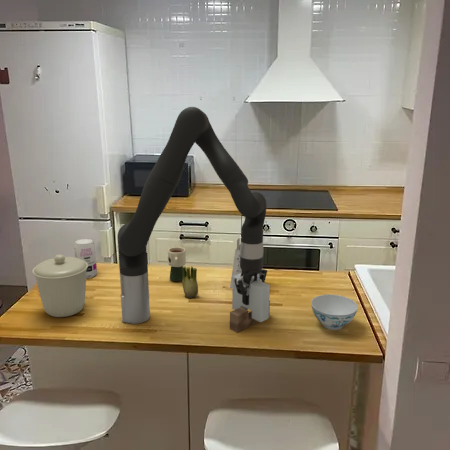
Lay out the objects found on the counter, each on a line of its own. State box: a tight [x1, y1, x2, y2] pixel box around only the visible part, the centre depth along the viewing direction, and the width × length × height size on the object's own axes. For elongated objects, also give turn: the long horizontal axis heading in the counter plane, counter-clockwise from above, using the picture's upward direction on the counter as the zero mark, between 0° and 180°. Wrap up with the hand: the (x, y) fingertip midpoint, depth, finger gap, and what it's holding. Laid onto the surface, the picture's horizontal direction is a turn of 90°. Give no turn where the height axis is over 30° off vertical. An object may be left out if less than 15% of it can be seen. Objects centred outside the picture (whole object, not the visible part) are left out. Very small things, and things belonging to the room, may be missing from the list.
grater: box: [229, 236, 262, 289], centre depth 184 cm, size 10×10×20 cm
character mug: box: [167, 246, 187, 282], centre depth 189 cm, size 11×7×13 cm, turn 3°
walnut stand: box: [229, 299, 271, 333], centre depth 157 cm, size 16×4×6 cm, turn 134°
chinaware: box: [310, 293, 359, 331], centre depth 155 cm, size 15×15×8 cm
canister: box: [31, 253, 88, 318], centre depth 162 cm, size 18×18×21 cm
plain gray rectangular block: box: [231, 273, 271, 323], centre depth 155 cm, size 4×13×12 cm, turn 45°
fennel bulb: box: [181, 265, 199, 299], centre depth 175 cm, size 6×5×12 cm
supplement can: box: [73, 238, 98, 279], centre depth 193 cm, size 8×8×15 cm
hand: (250, 301), depth 156 cm, fingers closed on plain gray rectangular block, 4 cm apart
